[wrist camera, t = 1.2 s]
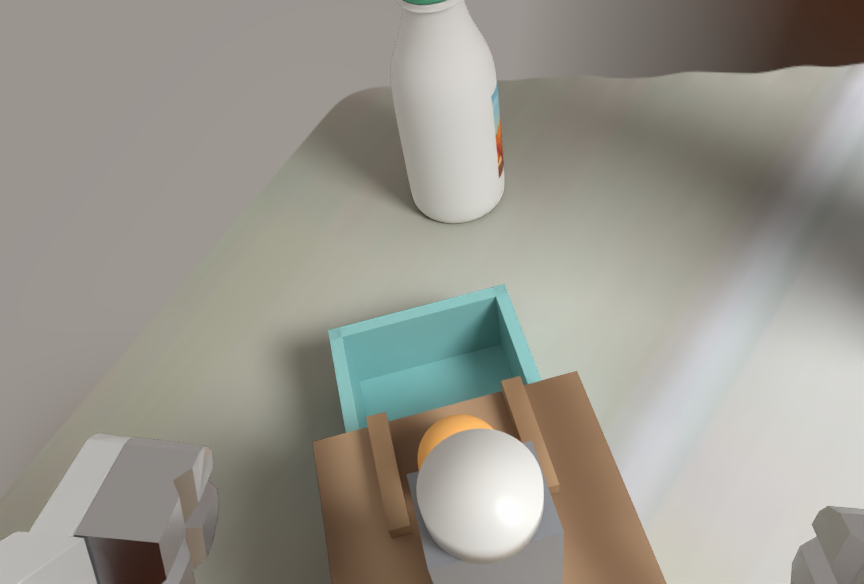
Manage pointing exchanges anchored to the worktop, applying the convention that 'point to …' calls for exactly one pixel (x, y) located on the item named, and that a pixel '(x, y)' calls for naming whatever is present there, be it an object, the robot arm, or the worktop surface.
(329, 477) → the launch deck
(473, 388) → the teal open tray
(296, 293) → the worktop surface
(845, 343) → the worktop surface
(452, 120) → the milk bottle
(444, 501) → the dome-capped grey pillar
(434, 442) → the ball
